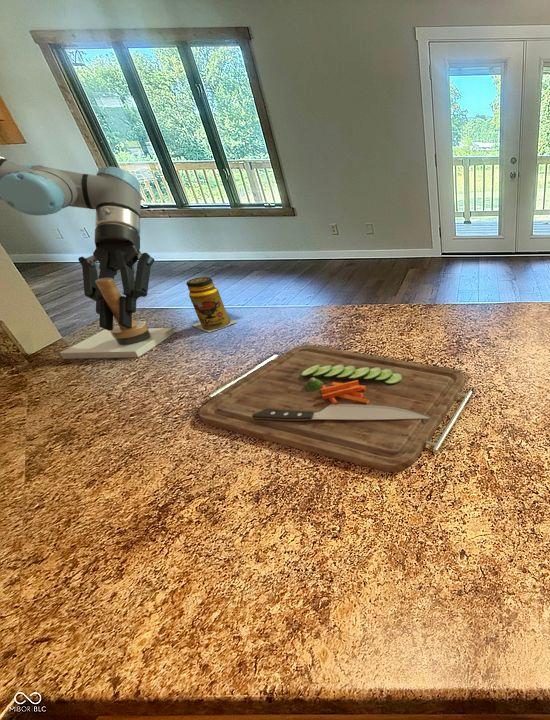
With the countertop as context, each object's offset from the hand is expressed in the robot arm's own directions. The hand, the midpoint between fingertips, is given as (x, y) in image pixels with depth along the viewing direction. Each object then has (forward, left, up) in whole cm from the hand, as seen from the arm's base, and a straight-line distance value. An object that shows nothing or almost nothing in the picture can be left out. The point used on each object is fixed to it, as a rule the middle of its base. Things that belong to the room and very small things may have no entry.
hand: (115, 327), depth 82 cm
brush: (-1, +4, -5) cm, 6 cm away
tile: (-4, +4, -6) cm, 8 cm away
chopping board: (+53, -19, -6) cm, 56 cm away
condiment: (+11, +15, -6) cm, 19 cm away
